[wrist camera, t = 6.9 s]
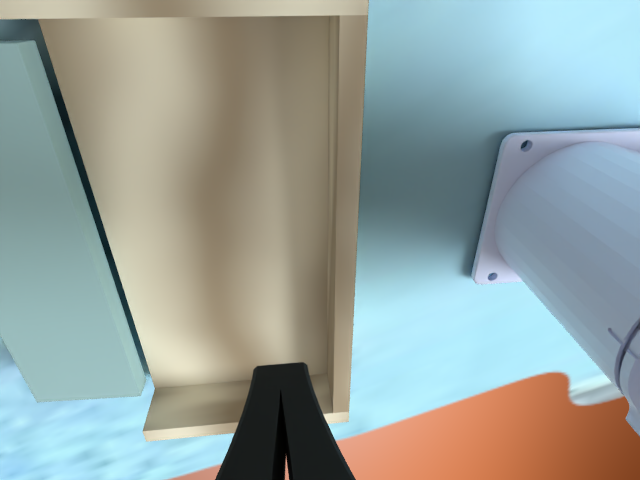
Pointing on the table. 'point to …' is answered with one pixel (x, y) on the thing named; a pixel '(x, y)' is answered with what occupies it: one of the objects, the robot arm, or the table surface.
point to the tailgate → (53, 252)
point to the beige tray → (221, 185)
